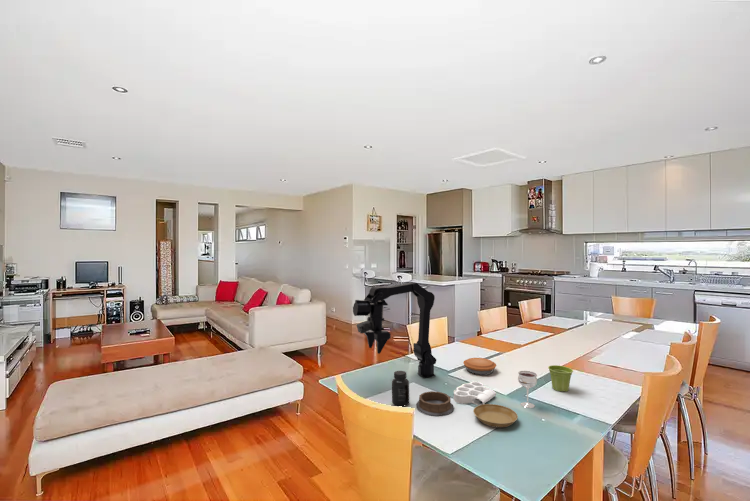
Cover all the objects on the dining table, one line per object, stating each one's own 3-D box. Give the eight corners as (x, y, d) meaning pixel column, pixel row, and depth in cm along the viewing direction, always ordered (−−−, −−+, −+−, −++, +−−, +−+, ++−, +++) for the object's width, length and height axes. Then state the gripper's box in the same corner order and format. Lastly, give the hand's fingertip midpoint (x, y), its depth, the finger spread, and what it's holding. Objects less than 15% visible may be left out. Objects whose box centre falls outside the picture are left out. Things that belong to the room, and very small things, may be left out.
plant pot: (552, 383, 159) (552, 363, 159) (576, 389, 152) (576, 368, 152) (544, 389, 152) (544, 368, 152) (568, 395, 145) (568, 374, 145)
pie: (500, 376, 167) (500, 366, 167) (467, 376, 168) (467, 366, 167) (490, 365, 183) (490, 355, 183) (460, 365, 183) (460, 355, 183)
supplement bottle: (411, 401, 141) (411, 371, 141) (405, 408, 135) (405, 376, 135) (395, 398, 144) (395, 368, 144) (389, 405, 138) (388, 374, 138)
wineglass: (535, 410, 133) (535, 378, 132) (516, 406, 136) (516, 374, 136) (538, 403, 138) (538, 372, 138) (519, 399, 142) (519, 369, 142)
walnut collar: (441, 397, 145) (441, 388, 145) (461, 412, 132) (461, 402, 132) (410, 402, 140) (410, 393, 140) (427, 418, 127) (427, 408, 127)
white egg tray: (479, 410, 134) (445, 399, 144) (499, 395, 147) (466, 386, 157) (479, 401, 134) (445, 391, 144) (499, 387, 147) (466, 378, 157)
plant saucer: (465, 420, 126) (465, 413, 126) (486, 407, 137) (486, 400, 137) (505, 436, 116) (505, 428, 116) (524, 420, 126) (524, 412, 126)
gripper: (351, 312, 164) (350, 346, 164) (367, 319, 147) (365, 358, 147) (374, 311, 168) (372, 344, 168) (392, 319, 151) (390, 356, 151)
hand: (374, 350), depth 158 cm, fingers open, 9 cm apart
